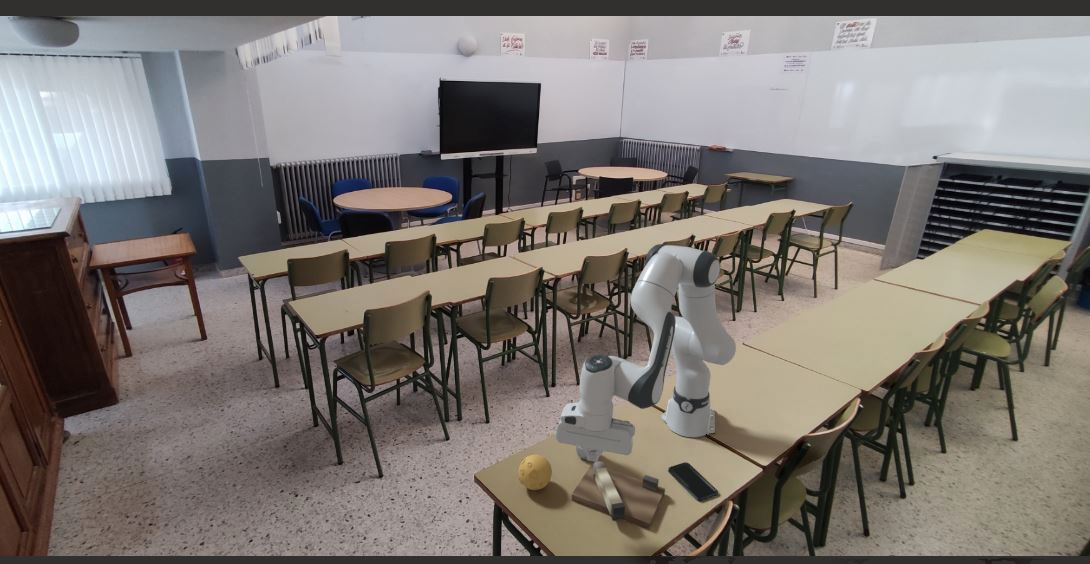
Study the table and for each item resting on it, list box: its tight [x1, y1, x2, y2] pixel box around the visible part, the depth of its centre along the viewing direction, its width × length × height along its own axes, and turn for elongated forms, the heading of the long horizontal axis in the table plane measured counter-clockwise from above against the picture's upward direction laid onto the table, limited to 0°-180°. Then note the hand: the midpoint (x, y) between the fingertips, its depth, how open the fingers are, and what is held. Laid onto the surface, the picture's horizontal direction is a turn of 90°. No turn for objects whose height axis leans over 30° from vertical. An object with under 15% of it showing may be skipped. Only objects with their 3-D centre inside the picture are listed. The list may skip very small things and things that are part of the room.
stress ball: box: [517, 453, 553, 491], centre depth 153 cm, size 10×10×10 cm
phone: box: [667, 462, 719, 502], centre depth 157 cm, size 8×1×15 cm
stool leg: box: [593, 460, 625, 522], centre depth 148 cm, size 19×3×4 cm, turn 12°
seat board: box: [570, 463, 666, 530], centre depth 150 cm, size 15×23×5 cm, turn 62°
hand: (592, 460), depth 140 cm, fingers closed
